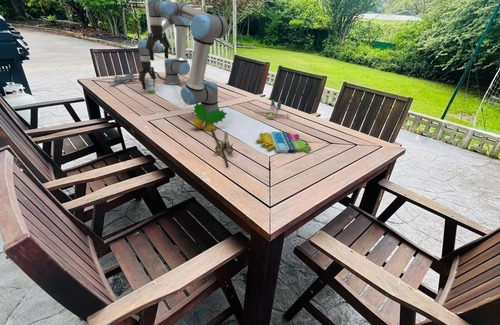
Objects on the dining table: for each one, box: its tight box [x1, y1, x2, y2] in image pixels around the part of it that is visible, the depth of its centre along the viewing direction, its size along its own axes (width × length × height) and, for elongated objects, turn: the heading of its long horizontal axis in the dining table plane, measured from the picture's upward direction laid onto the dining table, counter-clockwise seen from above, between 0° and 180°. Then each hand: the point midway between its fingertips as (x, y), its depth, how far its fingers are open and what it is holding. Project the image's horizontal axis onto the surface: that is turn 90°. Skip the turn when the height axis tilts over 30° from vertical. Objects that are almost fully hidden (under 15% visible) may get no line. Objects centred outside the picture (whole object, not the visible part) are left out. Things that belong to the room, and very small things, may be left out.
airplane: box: [109, 67, 139, 87], centre depth 251 cm, size 38×32×10 cm
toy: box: [252, 99, 291, 120], centre depth 197 cm, size 28×7×30 cm
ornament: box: [191, 102, 228, 132], centre depth 162 cm, size 21×8×15 cm, turn 105°
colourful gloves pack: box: [256, 131, 312, 154], centre depth 152 cm, size 26×2×30 cm
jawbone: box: [214, 131, 234, 156], centre depth 136 cm, size 9×15×10 cm
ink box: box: [143, 77, 156, 95], centre depth 225 cm, size 9×5×12 cm, turn 62°
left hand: (148, 88), depth 226 cm, fingers open, 10 cm apart
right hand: (159, 59), depth 181 cm, fingers open, 13 cm apart
